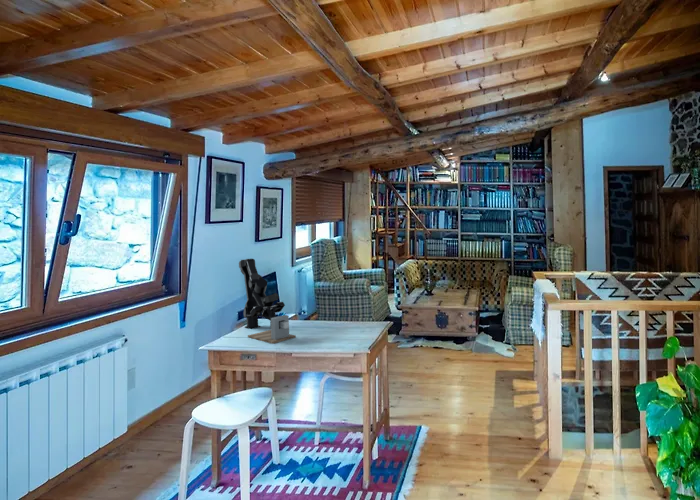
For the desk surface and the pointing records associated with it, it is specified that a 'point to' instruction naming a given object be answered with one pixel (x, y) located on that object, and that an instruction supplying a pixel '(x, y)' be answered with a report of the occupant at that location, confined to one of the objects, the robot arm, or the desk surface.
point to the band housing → (275, 330)
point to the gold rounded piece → (283, 324)
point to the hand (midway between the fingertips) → (275, 322)
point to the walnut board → (268, 337)
